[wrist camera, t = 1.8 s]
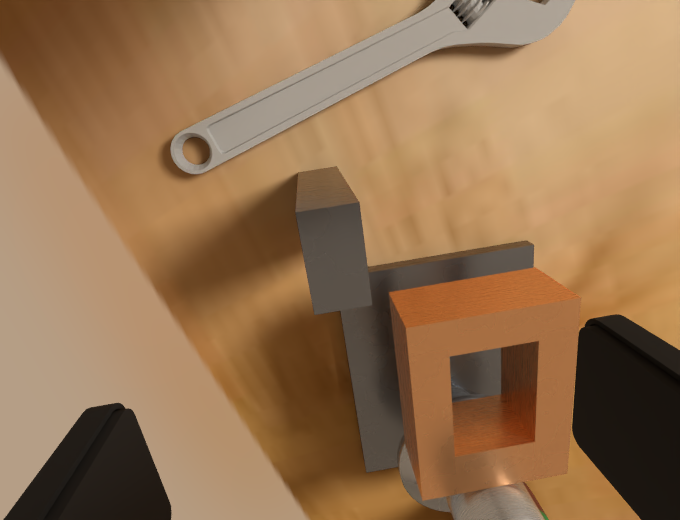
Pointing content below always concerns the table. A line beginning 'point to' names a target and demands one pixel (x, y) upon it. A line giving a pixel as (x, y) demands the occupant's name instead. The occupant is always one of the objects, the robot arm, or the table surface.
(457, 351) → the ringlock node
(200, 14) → the table surface
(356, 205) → the grey rectangular block
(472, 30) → the adjustable wrench
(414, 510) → the table surface
